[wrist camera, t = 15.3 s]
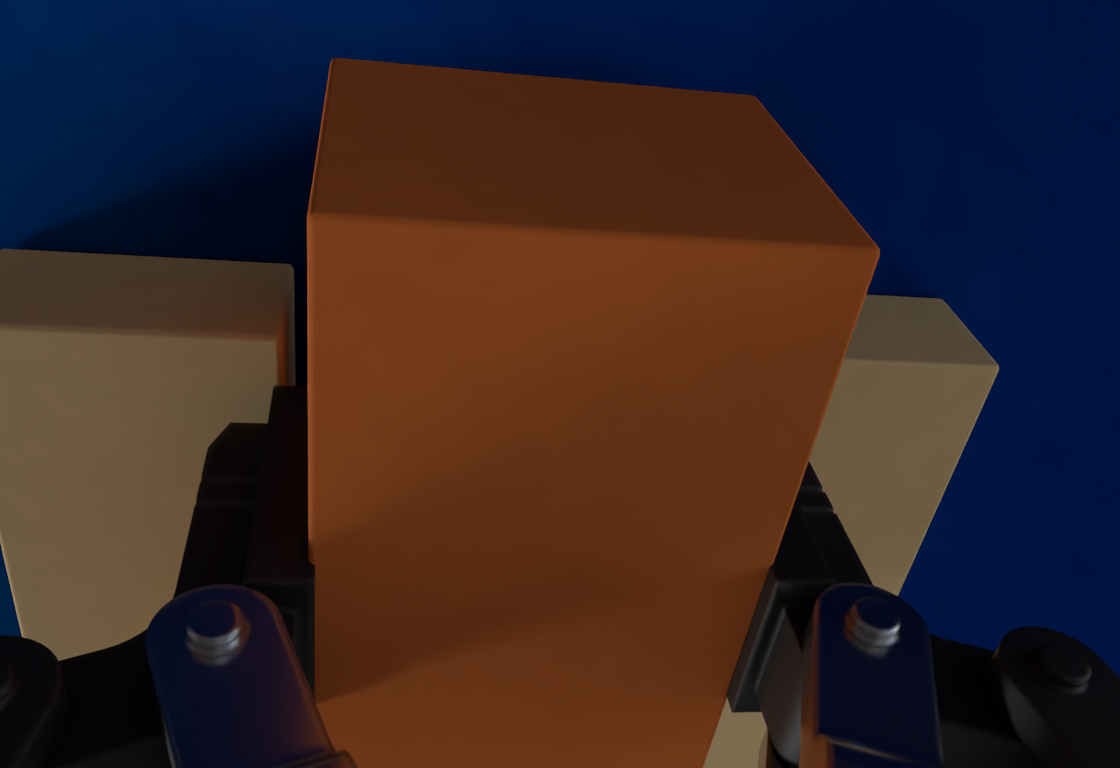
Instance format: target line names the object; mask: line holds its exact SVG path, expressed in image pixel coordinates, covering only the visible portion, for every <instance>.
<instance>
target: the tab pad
mask: <svg viewBox="0 0 1120 768" xmlns="http://www.w3.org/2000/svg"><path fill="white" fill-rule="evenodd" d="M879 256H880V250H879V247H878V246H877V245H876V244H875V242H874V241H873V240H872V239H871V238H870V236H869V235H868V234H867V233H866V231H865V230H864V229H863V228H862V227H861V225H860V224H859V223H858V222H857V220H856V219H855V218H854V217H853V216H852V214H851V213H850V212H849V211H848V209H847V208H846V207H845V206H844V205H843V203H842V202H841V201H840V200H839V198H838V197H837V196H836V195H835V193H834V192H833V191H832V190H831V189H830V187H829V186H828V185H827V184H826V182H825V181H824V180H823V179H822V178H821V176H820V175H819V174H818V173H817V171H816V170H815V169H814V168H813V167H812V165H811V164H810V163H809V162H808V160H807V159H806V158H805V157H804V155H803V154H802V153H801V152H800V151H799V149H798V148H797V147H796V146H795V144H794V143H793V142H792V141H791V140H790V138H789V137H788V136H787V135H786V133H785V132H784V131H783V130H782V129H781V127H780V126H779V125H778V124H777V122H776V121H775V120H774V119H773V118H772V116H771V115H770V114H769V113H768V111H767V110H766V109H765V108H764V106H763V105H762V104H761V103H760V102H759V100H758V99H757V98H756V97H755V96H753V95H743V94H732V93H721V92H710V91H698V90H687V89H676V88H665V87H654V86H643V85H632V84H621V83H610V82H599V81H588V80H577V79H566V78H555V77H543V76H532V75H521V74H510V73H499V72H488V71H477V70H466V69H455V68H444V67H433V66H422V65H411V64H400V63H388V62H377V61H366V60H355V59H344V58H334V59H332V60H331V63H330V68H329V75H328V82H327V88H326V95H325V101H324V108H323V115H322V121H321V128H320V135H319V141H318V148H317V154H316V161H315V168H314V174H313V181H312V187H311V194H310V201H309V207H308V214H307V338H308V560H309V562H310V563H311V564H314V565H315V702H316V705H317V707H318V710H319V712H320V715H321V717H322V720H323V723H324V725H325V728H326V730H327V733H328V735H329V738H330V740H331V742H332V745H333V747H334V748H335V750H336V751H340V750H344V749H345V750H346V751H348V752H349V754H350V755H351V756H352V758H353V759H354V761H355V763H356V765H357V767H358V768H703V766H704V763H705V760H706V757H707V754H708V751H709V749H710V746H711V743H712V740H713V737H714V734H715V731H716V728H717V725H718V722H719V720H720V717H721V714H722V711H723V708H724V705H725V702H726V699H727V696H726V695H727V692H728V689H729V686H730V683H731V680H732V677H733V674H734V671H735V668H736V665H737V663H738V660H739V657H740V654H741V651H742V648H743V645H744V642H745V639H746V636H747V634H748V631H749V628H750V625H751V622H752V619H753V616H754V613H755V610H756V607H757V604H758V602H759V599H760V596H761V593H762V590H763V587H764V584H765V581H766V578H767V575H768V572H769V570H770V567H771V565H773V563H774V560H775V557H776V554H777V551H778V549H779V546H780V543H781V540H782V537H783V534H784V531H785V528H786V525H787V523H788V520H789V517H790V514H791V511H792V508H793V505H794V502H795V499H796V496H797V494H798V491H799V488H800V485H801V482H802V479H803V476H804V473H805V470H806V467H807V465H808V462H809V459H810V456H811V453H812V450H813V447H814V444H815V441H816V438H817V436H818V433H819V430H820V427H821V424H822V421H823V418H824V415H825V412H826V410H827V407H828V404H829V401H830V398H831V395H832V392H833V389H834V386H835V383H836V381H837V378H838V375H839V372H840V369H841V366H842V363H843V360H844V357H845V354H846V352H847V349H848V346H849V343H850V340H851V337H852V334H853V331H854V328H855V326H856V323H857V320H858V317H859V314H860V311H861V308H862V305H863V302H864V299H865V297H866V294H867V291H868V288H869V285H870V282H871V279H872V276H873V273H874V270H875V268H876V265H877V262H878V259H879Z"/></svg>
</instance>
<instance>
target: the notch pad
mask: <svg viewBox="0 0 1120 768" xmlns="http://www.w3.org/2000/svg"><path fill="white" fill-rule="evenodd" d="M998 371H999V365H998V364H997V363H996V362H995V360H994V359H993V358H992V357H991V356H990V355H989V353H988V352H987V351H986V350H985V349H984V348H983V346H982V345H981V344H980V343H979V342H978V340H977V339H976V338H975V337H974V336H973V335H972V333H971V332H970V331H969V330H968V329H967V328H966V326H965V325H964V324H963V323H962V322H961V321H960V319H959V318H958V317H957V316H956V315H955V313H954V312H953V311H952V310H951V309H950V308H949V306H948V305H947V304H946V303H945V302H944V301H943V300H942V299H938V298H920V297H901V296H883V295H866V297H865V299H864V302H863V305H862V308H861V311H860V314H859V317H858V320H857V323H856V326H855V328H854V331H853V334H852V337H851V340H850V343H849V346H848V349H847V352H846V354H845V357H844V360H843V363H842V366H841V369H840V372H839V375H838V378H837V381H836V383H835V386H834V389H833V392H832V395H831V398H830V401H829V404H828V407H827V410H826V412H825V415H824V418H823V421H822V424H821V427H820V430H819V433H818V436H817V438H816V441H815V444H814V447H813V450H812V453H811V456H810V459H809V462H810V464H811V465H812V467H813V469H814V471H815V473H816V475H817V477H818V479H819V481H820V483H821V485H822V491H823V492H825V493H826V494H827V496H828V498H829V500H830V502H831V504H832V506H833V513H834V514H837V516H838V518H839V520H840V522H841V524H842V525H843V527H844V529H845V531H846V533H847V535H848V537H849V539H850V541H851V543H852V545H853V547H854V549H855V551H856V553H857V554H858V556H859V558H860V560H861V562H862V564H863V566H864V568H865V570H866V572H867V574H868V576H869V578H870V580H871V582H872V584H873V585H874V586H876V587H879V588H882V589H884V590H887V591H889V592H891V593H893V594H894V595H896V596H898V594H899V592H900V590H901V587H902V585H903V583H904V581H905V578H906V576H907V574H908V572H909V570H910V567H911V565H912V563H913V561H914V558H915V556H916V554H917V552H918V549H919V547H920V545H921V543H922V541H923V538H924V536H925V534H926V532H927V529H928V527H929V525H930V523H931V520H932V518H933V516H934V514H935V512H936V509H937V507H938V505H939V503H940V500H941V498H942V496H943V494H944V491H945V489H946V487H947V485H948V483H949V480H950V478H951V476H952V474H953V471H954V469H955V467H956V465H957V462H958V460H959V458H960V456H961V454H962V451H963V449H964V447H965V445H966V442H967V440H968V438H969V436H970V433H971V431H972V429H973V427H974V425H975V422H976V420H977V418H978V416H979V413H980V411H981V409H982V407H983V404H984V402H985V400H986V398H987V395H988V393H989V391H990V389H991V387H992V384H993V382H994V380H995V378H996V375H997V373H998ZM274 385H277V386H295V311H294V269H293V267H292V265H290V264H281V263H262V262H244V261H225V260H206V259H188V258H169V257H151V256H132V255H114V254H95V253H77V252H58V251H40V250H21V249H1V250H0V543H1V548H2V552H3V556H4V561H5V565H6V569H7V574H8V578H9V582H10V587H11V591H12V595H13V600H14V604H15V608H16V612H17V617H18V621H19V625H20V630H21V634H22V637H24V638H28V639H32V640H34V641H37V642H39V643H41V644H43V645H44V646H46V647H47V648H49V649H50V650H51V651H52V652H53V653H54V655H55V656H56V657H57V659H58V661H60V660H64V659H68V658H71V657H75V656H79V655H83V654H87V653H90V652H94V651H98V650H102V649H105V648H109V647H112V646H115V645H118V644H120V643H122V642H125V641H127V640H129V639H131V638H133V637H135V636H136V635H138V634H140V633H142V632H143V631H144V630H146V629H147V628H148V626H149V624H150V622H151V620H152V619H153V617H154V616H155V614H156V613H157V612H158V611H159V610H160V609H161V608H162V607H163V606H164V605H165V604H167V603H168V602H169V601H170V600H172V599H173V596H174V593H175V590H176V585H177V581H178V577H179V572H180V568H181V563H182V559H183V555H184V550H185V546H186V541H187V537H188V533H189V528H190V524H191V519H192V515H193V511H194V506H196V498H197V493H198V489H199V484H200V482H201V476H202V471H203V467H204V462H205V458H206V454H207V449H208V447H209V446H210V444H211V443H212V442H213V441H214V440H215V439H216V438H217V437H218V436H219V435H220V433H221V432H222V431H223V430H224V429H225V428H226V427H227V426H228V425H229V424H230V422H234V423H268V417H269V411H270V405H271V398H272V392H273V387H274ZM766 729H767V726H766V723H765V720H764V717H763V715H762V712H739V713H732V711H731V708H730V705H729V702H728V699H726V702H725V705H724V708H723V711H722V714H721V717H720V720H719V722H718V725H717V728H716V731H715V734H714V737H713V740H712V743H711V746H710V749H709V751H708V754H707V757H706V760H705V763H704V766H703V768H758V758H759V749H760V745H761V742H762V740H763V737H764V734H765V732H766Z"/></svg>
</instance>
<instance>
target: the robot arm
mask: <svg viewBox="0 0 1120 768" xmlns="http://www.w3.org/2000/svg"><path fill="white" fill-rule="evenodd" d="M726 696H727V699H728V702H729V705H730V708H731V711H732V713H739V712H762V715H763V717H764V720H765V723H766V726H767V729H766V732H765V734H764V737H763V740H762V742H761V745H760V749H759V758H758V768H1120V677H1119V676H1118V675H1117V674H1116V673H1115V672H1114V671H1113V670H1112V669H1111V668H1110V667H1109V666H1108V665H1107V664H1106V663H1105V662H1104V661H1103V660H1102V659H1101V658H1100V657H1099V656H1098V655H1097V654H1096V653H1095V652H1094V651H1092V650H1091V649H1090V648H1088V647H1087V646H1085V645H1084V644H1082V643H1081V642H1079V641H1077V640H1076V639H1074V638H1072V637H1070V636H1068V635H1065V634H1063V633H1060V632H1057V631H1055V630H1051V629H1047V628H1041V627H1021V628H1017V629H1014V630H1012V631H1010V632H1009V633H1007V634H1006V635H1005V636H1004V638H1003V639H1002V640H1001V642H1000V644H999V646H998V648H997V650H996V651H991V650H987V649H983V648H979V647H975V646H971V645H967V644H963V643H959V642H955V641H951V640H947V639H944V638H940V637H937V636H934V635H932V634H929V631H928V628H927V626H926V624H925V622H924V621H923V619H922V618H921V616H920V615H919V614H918V613H917V612H916V611H915V610H914V609H913V608H912V607H911V606H910V605H909V604H908V603H907V602H905V601H904V600H902V599H901V598H900V597H898V596H896V595H894V594H893V593H891V592H889V591H887V590H884V589H882V588H879V587H876V586H874V585H873V584H872V582H871V580H870V578H869V576H868V574H867V572H866V570H865V568H864V566H863V564H862V562H861V560H860V558H859V556H858V554H857V553H856V551H855V549H854V547H853V545H852V543H851V541H850V539H849V537H848V535H847V533H846V531H845V529H844V527H843V525H842V524H841V522H840V520H839V518H838V516H837V514H834V513H833V506H832V504H831V502H830V500H829V498H828V496H827V494H826V493H825V492H823V491H822V485H821V483H820V481H819V479H818V477H817V475H816V473H815V471H814V469H813V467H812V465H811V464H810V462H808V465H807V467H806V470H805V473H804V476H803V479H802V482H801V485H800V488H799V491H798V494H797V496H796V499H795V502H794V505H793V508H792V511H791V514H790V517H789V520H788V523H787V525H786V528H785V531H784V534H783V537H782V540H781V543H780V546H779V549H778V551H777V554H776V557H775V560H774V563H773V565H771V567H770V570H769V572H768V575H767V578H766V581H765V584H764V587H763V590H762V593H761V596H760V599H759V602H758V604H757V607H756V610H755V613H754V616H753V619H752V622H751V625H750V628H749V631H748V634H747V636H746V639H745V642H744V645H743V648H742V651H741V654H740V657H739V660H738V663H737V665H736V668H735V671H734V674H733V677H732V680H731V683H730V686H729V689H728V692H727V695H726ZM0 768H358V767H357V765H356V763H355V761H354V759H353V758H352V756H351V755H350V754H349V752H348V751H346V750H345V749H344V750H340V751H336V750H335V748H334V747H333V745H332V742H331V740H330V738H329V735H328V733H327V730H326V728H325V725H324V723H323V720H322V717H321V715H320V712H319V710H318V707H317V705H316V702H315V565H314V564H311V563H310V562H309V560H308V386H277V385H274V387H273V392H272V398H271V405H270V411H269V417H268V423H234V422H230V424H229V425H228V426H227V427H226V428H225V429H224V430H223V431H222V432H221V433H220V435H219V436H218V437H217V438H216V439H215V440H214V441H213V442H212V443H211V444H210V446H209V447H208V449H207V454H206V458H205V462H204V467H203V471H202V476H201V482H200V484H199V489H198V493H197V498H196V506H194V511H193V515H192V519H191V524H190V528H189V533H188V537H187V541H186V546H185V550H184V555H183V559H182V563H181V568H180V572H179V577H178V581H177V585H176V590H175V593H174V596H173V599H172V600H170V601H169V602H168V603H167V604H165V605H164V606H163V607H162V608H161V609H160V610H159V611H158V612H157V613H156V614H155V616H154V617H153V619H152V620H151V622H150V624H149V626H148V628H147V629H146V630H144V631H143V632H142V633H140V634H138V635H136V636H135V637H133V638H131V639H129V640H127V641H125V642H122V643H120V644H118V645H115V646H112V647H109V648H105V649H102V650H98V651H94V652H90V653H87V654H83V655H79V656H75V657H71V658H68V659H64V660H60V661H58V659H57V657H56V656H55V655H54V653H53V652H52V651H51V650H50V649H49V648H47V647H46V646H44V645H43V644H41V643H39V642H37V641H34V640H32V639H28V638H24V637H17V636H0Z"/></svg>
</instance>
